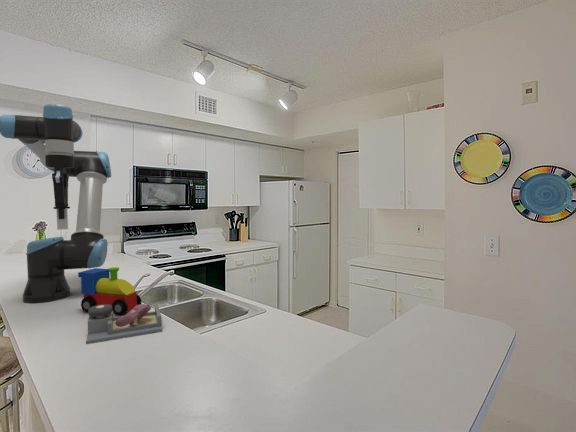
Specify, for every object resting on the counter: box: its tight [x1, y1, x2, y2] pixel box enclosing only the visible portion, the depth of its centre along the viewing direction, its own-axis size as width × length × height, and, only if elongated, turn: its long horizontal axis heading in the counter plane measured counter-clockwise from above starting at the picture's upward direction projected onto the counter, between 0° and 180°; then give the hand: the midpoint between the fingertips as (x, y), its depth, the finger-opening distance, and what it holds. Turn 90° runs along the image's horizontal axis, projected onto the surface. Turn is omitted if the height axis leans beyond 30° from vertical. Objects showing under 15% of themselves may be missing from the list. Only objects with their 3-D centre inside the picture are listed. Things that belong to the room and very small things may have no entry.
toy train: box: [77, 266, 142, 316], centre depth 114 cm, size 9×20×15 cm, turn 77°
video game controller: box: [115, 302, 152, 327], centre depth 99 cm, size 10×5×7 cm
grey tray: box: [85, 304, 163, 345], centre depth 99 cm, size 16×19×4 cm
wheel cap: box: [88, 304, 112, 318], centre depth 96 cm, size 6×6×6 cm
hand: (62, 229), depth 106 cm, fingers closed
